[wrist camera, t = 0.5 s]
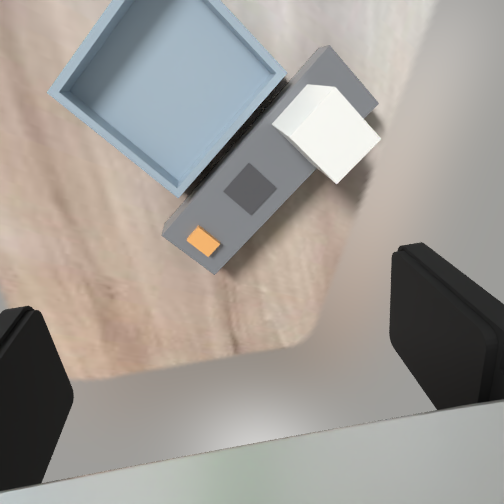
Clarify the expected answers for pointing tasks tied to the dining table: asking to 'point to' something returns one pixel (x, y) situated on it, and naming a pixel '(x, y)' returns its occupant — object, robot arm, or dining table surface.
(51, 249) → the dining table surface
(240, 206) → the strip
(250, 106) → the tray
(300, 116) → the block
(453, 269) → the robot arm
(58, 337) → the dining table surface
